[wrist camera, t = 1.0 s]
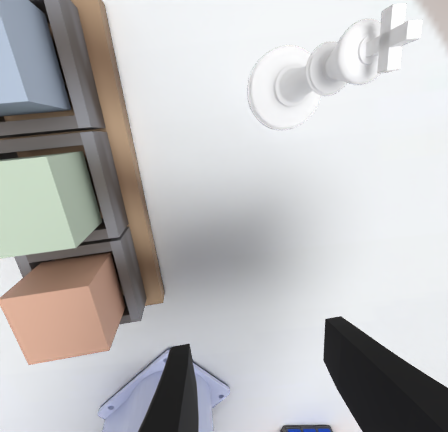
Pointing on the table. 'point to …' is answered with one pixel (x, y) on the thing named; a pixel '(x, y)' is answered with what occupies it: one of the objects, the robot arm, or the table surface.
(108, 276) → the peach matte cube
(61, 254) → the board
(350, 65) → the chess piece
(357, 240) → the table surface
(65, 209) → the pale green cube
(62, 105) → the block
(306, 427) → the puzzle
